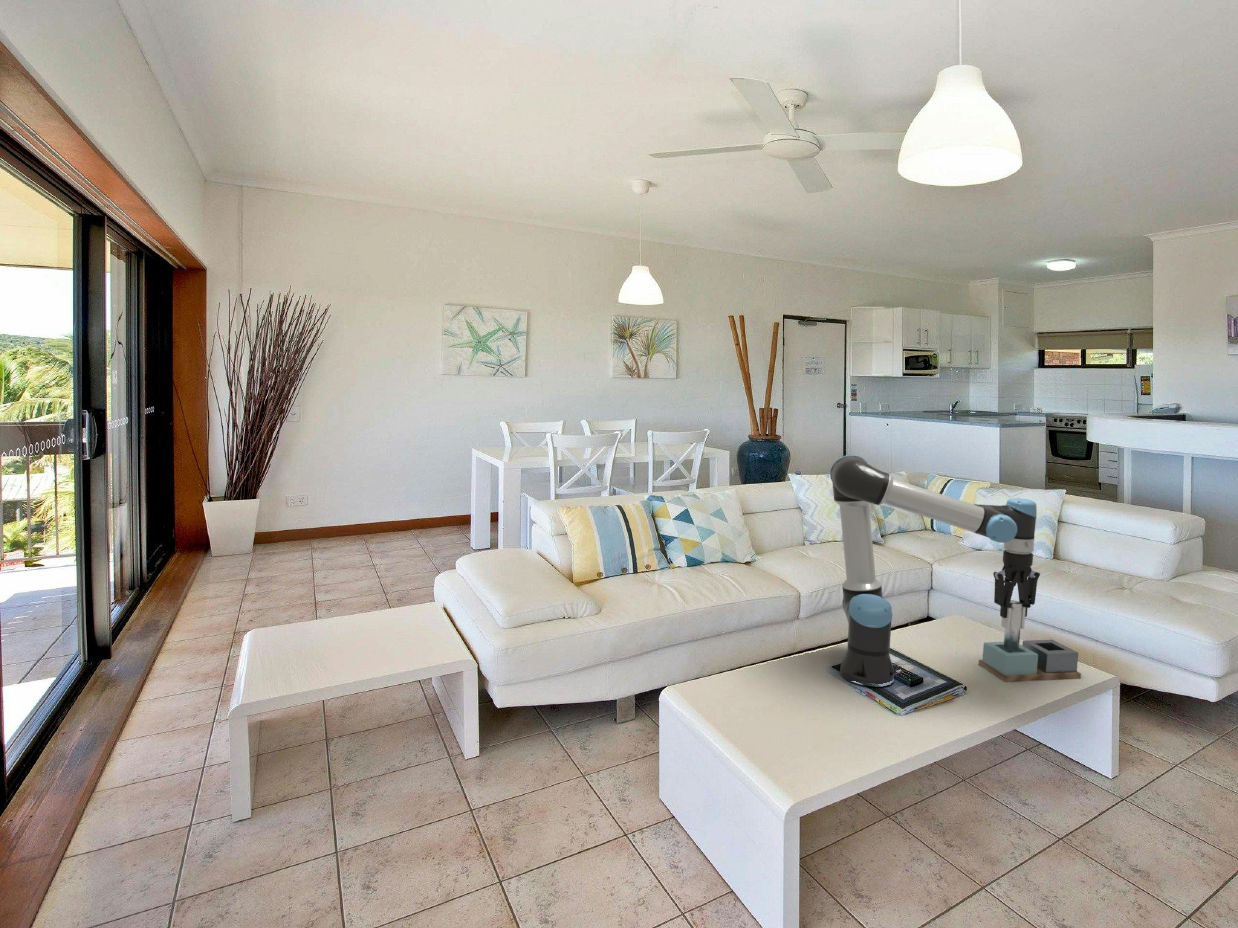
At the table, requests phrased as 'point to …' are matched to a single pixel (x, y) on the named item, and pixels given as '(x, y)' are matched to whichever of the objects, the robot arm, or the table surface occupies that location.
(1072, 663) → the socket block
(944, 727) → the table surface
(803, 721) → the table surface
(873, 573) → the robot arm
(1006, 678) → the tool board
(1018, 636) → the translucent peg
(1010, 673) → the teal square holder
